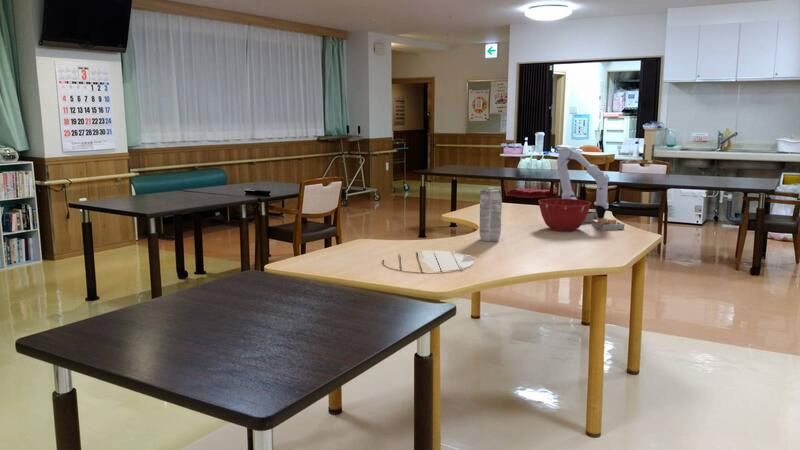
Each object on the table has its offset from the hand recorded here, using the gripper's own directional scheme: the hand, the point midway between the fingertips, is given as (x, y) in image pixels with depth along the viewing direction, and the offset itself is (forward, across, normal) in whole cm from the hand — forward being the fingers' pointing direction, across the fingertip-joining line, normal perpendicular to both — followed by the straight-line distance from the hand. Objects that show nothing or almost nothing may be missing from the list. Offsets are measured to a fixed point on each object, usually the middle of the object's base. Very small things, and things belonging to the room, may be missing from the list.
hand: (600, 219), depth 352 cm
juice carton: (+4, -30, +72) cm, 78 cm away
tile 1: (+1, -3, 0) cm, 3 cm away
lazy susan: (+4, -73, +110) cm, 132 cm away
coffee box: (+1, +20, -8) cm, 21 cm away
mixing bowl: (+4, -5, +24) cm, 24 cm away
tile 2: (+1, -3, -5) cm, 6 cm away
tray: (+4, -7, -2) cm, 8 cm away
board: (+4, +1, -2) cm, 5 cm away
